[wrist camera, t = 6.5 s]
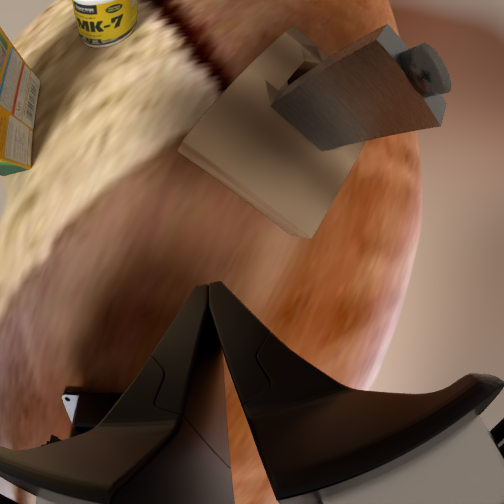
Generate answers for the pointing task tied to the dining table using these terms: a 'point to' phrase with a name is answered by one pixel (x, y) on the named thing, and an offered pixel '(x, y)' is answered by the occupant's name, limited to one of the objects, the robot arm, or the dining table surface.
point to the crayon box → (16, 109)
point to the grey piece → (367, 92)
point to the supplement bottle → (105, 20)
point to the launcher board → (270, 142)
